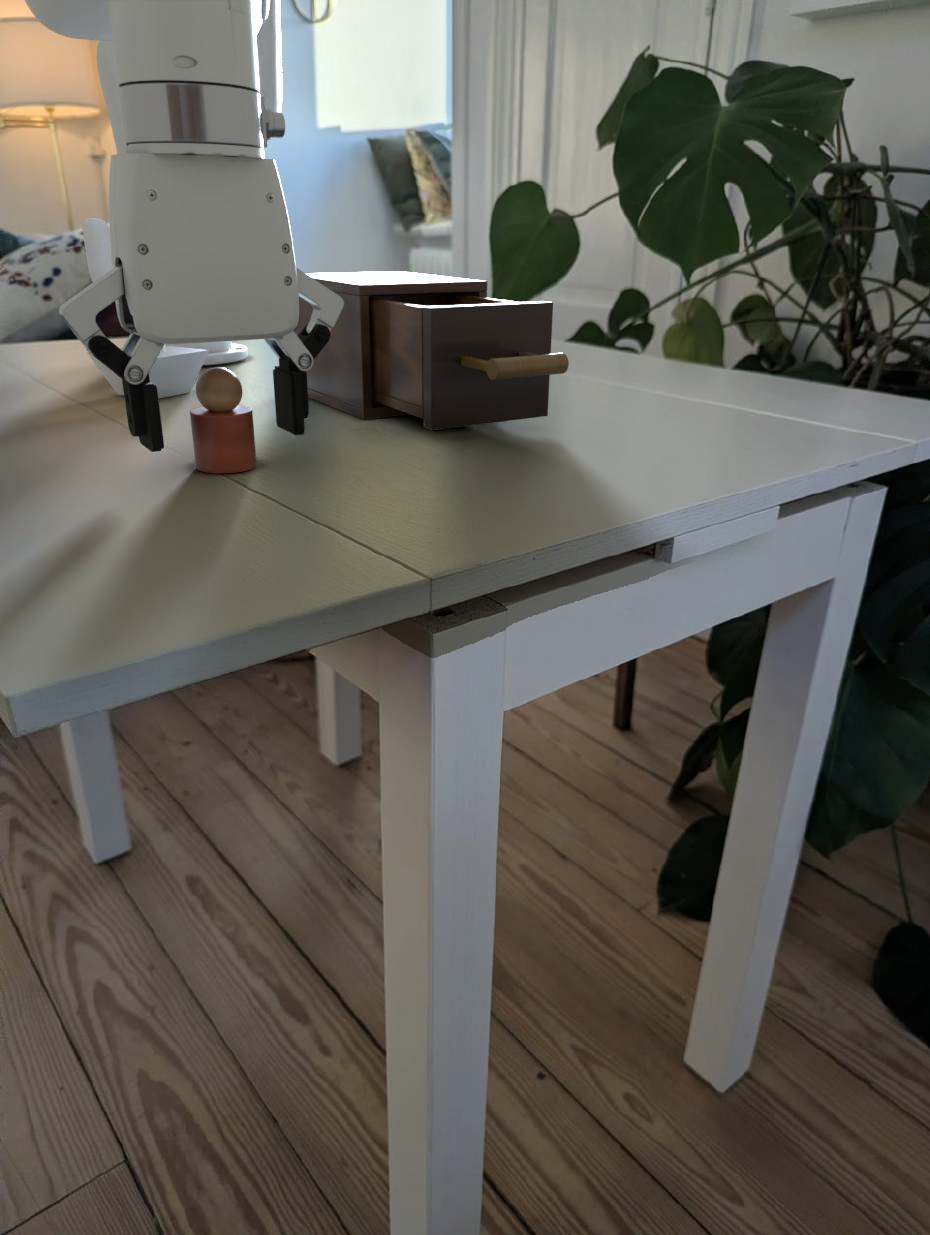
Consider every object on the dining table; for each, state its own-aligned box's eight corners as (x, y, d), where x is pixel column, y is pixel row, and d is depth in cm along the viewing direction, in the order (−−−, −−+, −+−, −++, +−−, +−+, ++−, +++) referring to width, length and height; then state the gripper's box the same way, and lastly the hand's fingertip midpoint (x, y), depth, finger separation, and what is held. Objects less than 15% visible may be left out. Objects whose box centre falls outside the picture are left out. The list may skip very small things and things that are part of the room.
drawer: (589, 428, 66) (597, 308, 63) (468, 444, 61) (470, 314, 57) (455, 389, 80) (456, 289, 77) (348, 399, 75) (344, 293, 72)
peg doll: (188, 463, 59) (177, 365, 56) (244, 456, 61) (236, 361, 58) (206, 476, 56) (196, 374, 53) (265, 469, 58) (257, 369, 55)
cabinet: (485, 406, 78) (487, 281, 74) (363, 419, 72) (359, 284, 68) (402, 381, 89) (401, 271, 85) (292, 391, 83) (284, 273, 79)
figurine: (221, 389, 83) (205, 211, 77) (141, 406, 76) (116, 209, 70) (165, 382, 87) (145, 210, 81) (83, 397, 79) (54, 209, 73)
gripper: (311, 141, 58) (325, 415, 65) (14, 125, 49) (67, 442, 56) (364, 134, 52) (373, 435, 59) (38, 113, 43) (94, 469, 50)
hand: (223, 438), depth 58 cm, fingers open, 8 cm apart
